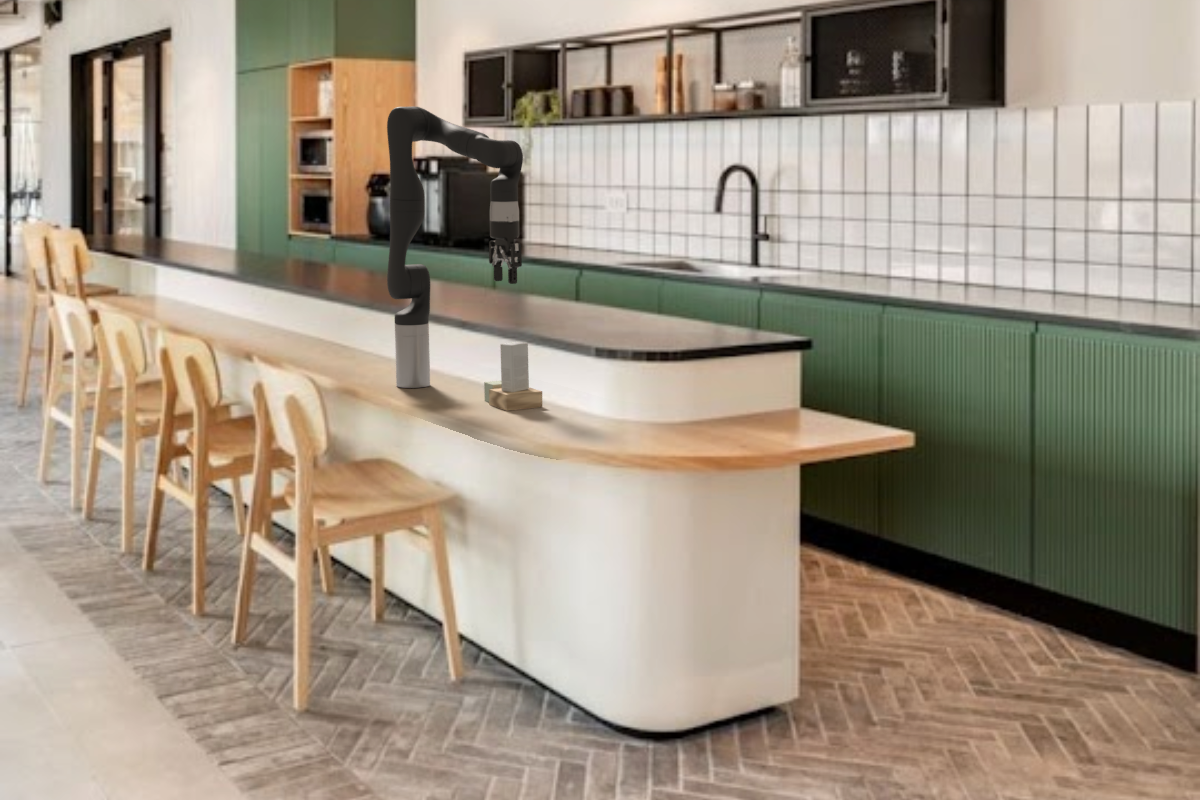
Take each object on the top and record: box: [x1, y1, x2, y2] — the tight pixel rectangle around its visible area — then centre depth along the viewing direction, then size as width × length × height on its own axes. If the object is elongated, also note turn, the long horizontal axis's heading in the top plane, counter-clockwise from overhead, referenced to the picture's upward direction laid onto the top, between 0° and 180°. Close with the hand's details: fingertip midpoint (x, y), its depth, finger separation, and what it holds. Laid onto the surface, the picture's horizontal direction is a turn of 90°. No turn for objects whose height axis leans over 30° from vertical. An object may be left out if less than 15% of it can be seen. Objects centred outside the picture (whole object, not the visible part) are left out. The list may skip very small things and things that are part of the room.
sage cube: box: [483, 380, 502, 403], centre depth 376 cm, size 5×5×5 cm
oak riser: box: [488, 387, 543, 412], centre depth 370 cm, size 10×10×4 cm
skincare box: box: [499, 341, 530, 392], centre depth 368 cm, size 6×4×12 cm
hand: (505, 282), depth 378 cm, fingers open, 8 cm apart
